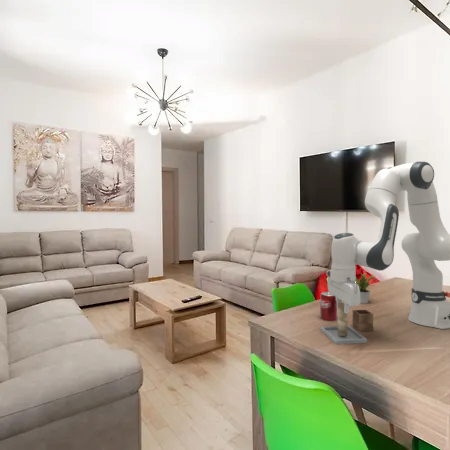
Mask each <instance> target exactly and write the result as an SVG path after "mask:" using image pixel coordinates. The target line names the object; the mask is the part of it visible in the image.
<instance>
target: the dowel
mask: <svg viewBox="0 0 450 450" xmlns="http://www.w3.org/2000/svg"><path fill="white" fill-rule="evenodd" d="M344 306H345V304H344V302H343V301H342V302H341V303H338V308H337V326H338V335H340V336H347V333H348V326H349V323H348V320H349V319H348V318H349V313H344V312H343V308H344Z"/></svg>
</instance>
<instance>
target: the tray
mask: <svg viewBox="0 0 450 450" xmlns="http://www.w3.org/2000/svg"><path fill="white" fill-rule="evenodd" d="M320 331H321V332H322V333H323V334H324V335H325V336H327V337H328V338H329V340H330V341H332V342H333V343H334V344H335V345H346V344H349V345H350V344H364V343H365V344H366V343H368V339H367V338H366V337H365V336H363V335H362V334H361V333H360V332H358V330H355V329H354V327H352V326H350V325H348V333H347V336H340V335H338V325H331V326H320Z"/></svg>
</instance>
